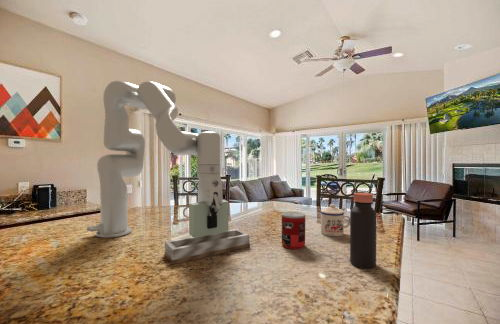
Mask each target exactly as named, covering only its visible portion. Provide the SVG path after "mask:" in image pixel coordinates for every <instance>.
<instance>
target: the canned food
mask: <svg viewBox="0 0 500 324" xmlns="http://www.w3.org/2000/svg"><path fill="white" fill-rule="evenodd" d="M281 244H282V245H281V246H282V247H284V248H286V249H289V250H302V249H304V248H305V245H306V214H305V213H304V212H299V211H284V212H282V213H281Z"/></svg>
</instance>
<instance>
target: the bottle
mask: <svg viewBox="0 0 500 324" xmlns="http://www.w3.org/2000/svg"><path fill="white" fill-rule="evenodd" d="M373 200H374V194H373V193H369V192H354V193H353V202H354V206H353V207H352V208H351V209H350V215H349V217H350V226H349V227H350V229H349V232H350V233H349V234H350V235H349V237H350V238H349V245H350V246H349V262H350V263H351V265H353V266H355V267H357V268H361V269H365V270H366V269H367V270H368V269H369V270H370V269H374V268H376V267H377V211H376V210H375V209H374V208H373V206H372V205H373V202H374V201H373Z"/></svg>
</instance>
